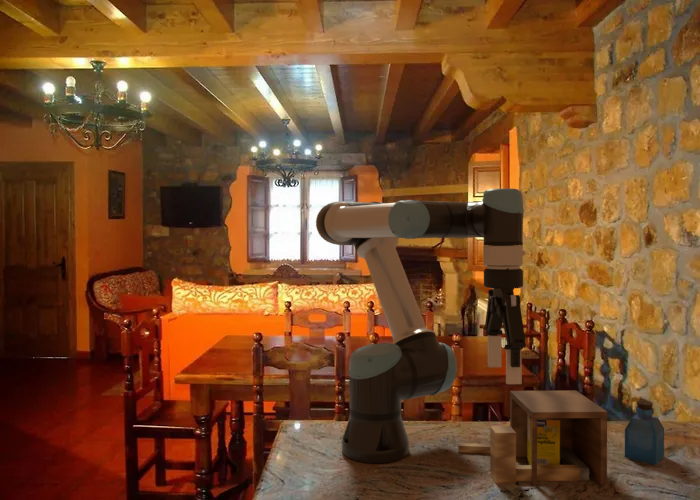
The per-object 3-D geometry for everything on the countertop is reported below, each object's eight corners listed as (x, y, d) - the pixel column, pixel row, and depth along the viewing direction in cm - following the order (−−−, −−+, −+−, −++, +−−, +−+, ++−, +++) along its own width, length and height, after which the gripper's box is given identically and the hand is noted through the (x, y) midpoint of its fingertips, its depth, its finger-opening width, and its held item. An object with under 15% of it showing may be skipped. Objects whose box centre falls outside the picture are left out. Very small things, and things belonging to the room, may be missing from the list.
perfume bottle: (624, 457, 122) (624, 402, 122) (633, 449, 126) (633, 396, 126) (656, 465, 118) (656, 408, 117) (664, 456, 122) (664, 402, 122)
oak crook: (495, 483, 109) (495, 432, 109) (481, 459, 121) (481, 413, 121) (591, 482, 109) (591, 432, 109) (567, 458, 121) (567, 412, 121)
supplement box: (560, 473, 114) (560, 420, 113) (529, 471, 115) (529, 418, 115) (556, 462, 120) (556, 411, 119) (526, 460, 121) (526, 409, 121)
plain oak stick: (458, 453, 126) (458, 445, 125) (458, 450, 127) (458, 442, 127) (513, 456, 124) (513, 448, 124) (512, 453, 125) (512, 445, 125)
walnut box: (532, 484, 109) (532, 412, 108) (510, 454, 124) (510, 390, 123) (606, 484, 109) (607, 411, 108) (575, 454, 124) (575, 390, 123)
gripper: (544, 271, 98) (544, 391, 98) (504, 264, 123) (504, 360, 123) (501, 271, 98) (502, 392, 98) (470, 264, 123) (470, 361, 123)
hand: (503, 374), depth 111 cm, fingers open, 13 cm apart
